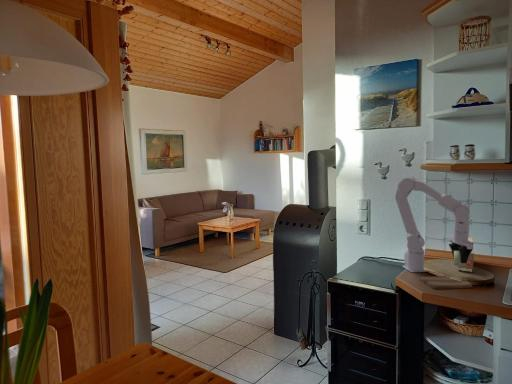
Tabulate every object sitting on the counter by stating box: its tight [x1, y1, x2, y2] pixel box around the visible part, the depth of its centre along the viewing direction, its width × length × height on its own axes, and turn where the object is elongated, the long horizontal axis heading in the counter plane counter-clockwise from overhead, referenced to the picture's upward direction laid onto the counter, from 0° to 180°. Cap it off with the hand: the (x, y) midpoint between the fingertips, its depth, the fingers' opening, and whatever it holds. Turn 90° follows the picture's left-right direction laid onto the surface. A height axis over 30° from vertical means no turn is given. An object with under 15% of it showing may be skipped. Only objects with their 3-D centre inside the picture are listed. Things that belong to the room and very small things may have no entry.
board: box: [419, 275, 473, 290], centre depth 165 cm, size 12×16×1 cm
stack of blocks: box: [457, 237, 475, 270], centre depth 188 cm, size 21×6×12 cm, turn 153°
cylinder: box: [453, 250, 466, 267], centre depth 174 cm, size 5×5×6 cm
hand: (459, 261), depth 174 cm, fingers closed on cylinder, 5 cm apart
